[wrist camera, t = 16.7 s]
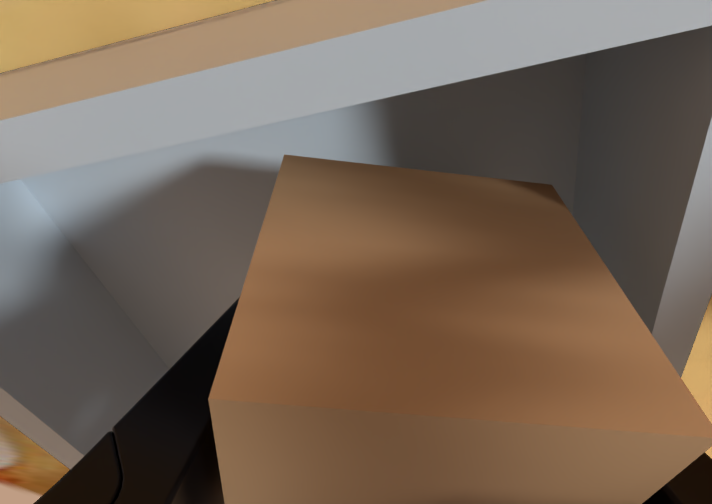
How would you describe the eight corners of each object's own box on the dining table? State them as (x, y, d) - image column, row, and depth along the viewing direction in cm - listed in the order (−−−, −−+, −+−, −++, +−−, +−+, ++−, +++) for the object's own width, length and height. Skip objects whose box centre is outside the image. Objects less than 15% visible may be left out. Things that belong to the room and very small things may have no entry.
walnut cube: (551, 184, 8) (720, 438, 4) (476, 354, 11) (535, 591, 7) (284, 154, 8) (207, 398, 4) (280, 337, 11) (235, 576, 7)
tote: (632, -95, 8) (855, -91, 4) (562, 462, 20) (605, 581, 17) (-61, 89, 10) (-293, 192, 6) (261, 491, 22) (242, 601, 19)
